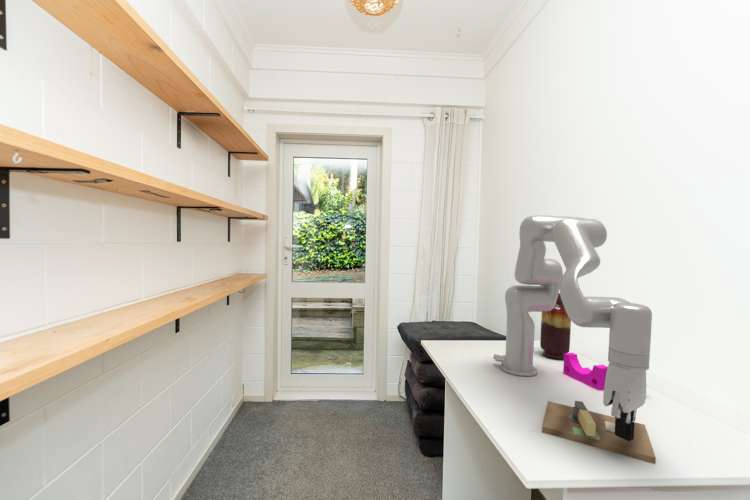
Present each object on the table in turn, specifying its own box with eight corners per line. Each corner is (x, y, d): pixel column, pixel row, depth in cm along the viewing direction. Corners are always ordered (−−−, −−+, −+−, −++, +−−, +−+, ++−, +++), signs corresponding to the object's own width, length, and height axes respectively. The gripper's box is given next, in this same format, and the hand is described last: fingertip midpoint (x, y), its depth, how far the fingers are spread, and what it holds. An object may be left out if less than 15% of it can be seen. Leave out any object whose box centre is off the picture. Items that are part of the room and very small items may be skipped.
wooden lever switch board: (541, 434, 85) (542, 425, 85) (547, 407, 99) (548, 400, 99) (655, 467, 74) (655, 456, 74) (644, 432, 88) (644, 423, 87)
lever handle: (570, 413, 92) (570, 399, 91) (585, 415, 90) (586, 402, 90) (581, 436, 81) (582, 421, 81) (599, 439, 80) (600, 424, 79)
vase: (545, 349, 154) (548, 291, 153) (573, 355, 146) (576, 294, 145) (535, 354, 146) (538, 293, 146) (563, 361, 138) (566, 297, 137)
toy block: (614, 389, 114) (615, 367, 113) (599, 391, 112) (600, 368, 112) (576, 372, 128) (577, 352, 128) (563, 373, 126) (564, 353, 126)
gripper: (625, 348, 85) (621, 421, 86) (593, 358, 78) (589, 438, 78) (662, 358, 79) (658, 436, 79) (632, 369, 71) (627, 456, 72)
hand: (624, 437), depth 79 cm, fingers closed
